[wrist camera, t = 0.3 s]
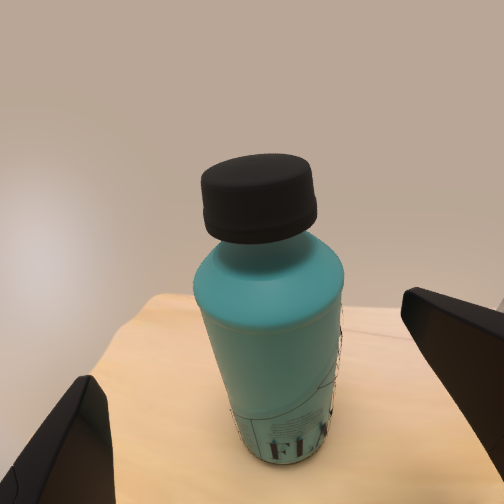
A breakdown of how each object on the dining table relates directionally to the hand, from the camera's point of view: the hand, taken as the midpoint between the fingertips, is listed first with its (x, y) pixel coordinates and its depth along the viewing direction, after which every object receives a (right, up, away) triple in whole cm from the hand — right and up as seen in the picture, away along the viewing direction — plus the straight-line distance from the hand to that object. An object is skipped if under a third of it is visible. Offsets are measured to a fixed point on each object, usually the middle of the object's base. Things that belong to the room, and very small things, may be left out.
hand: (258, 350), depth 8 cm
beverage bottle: (+2, -12, +13) cm, 18 cm away
